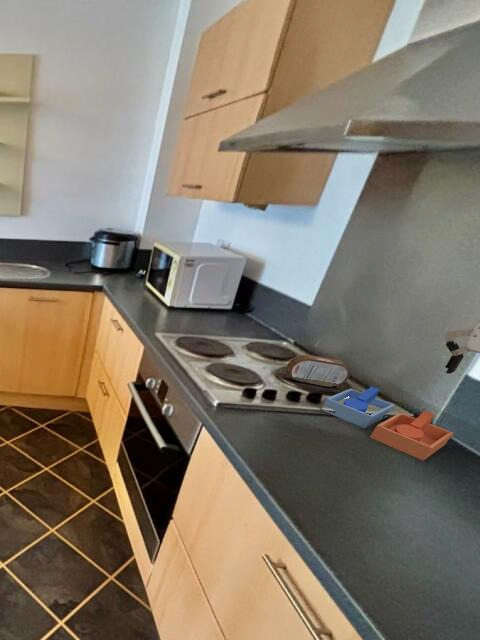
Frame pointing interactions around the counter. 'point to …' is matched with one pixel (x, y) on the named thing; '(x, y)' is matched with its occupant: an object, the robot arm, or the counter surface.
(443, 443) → the terracotta bin
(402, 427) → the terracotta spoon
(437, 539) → the counter surface
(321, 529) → the counter surface
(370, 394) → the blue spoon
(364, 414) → the blue bin
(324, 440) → the counter surface
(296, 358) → the tin
